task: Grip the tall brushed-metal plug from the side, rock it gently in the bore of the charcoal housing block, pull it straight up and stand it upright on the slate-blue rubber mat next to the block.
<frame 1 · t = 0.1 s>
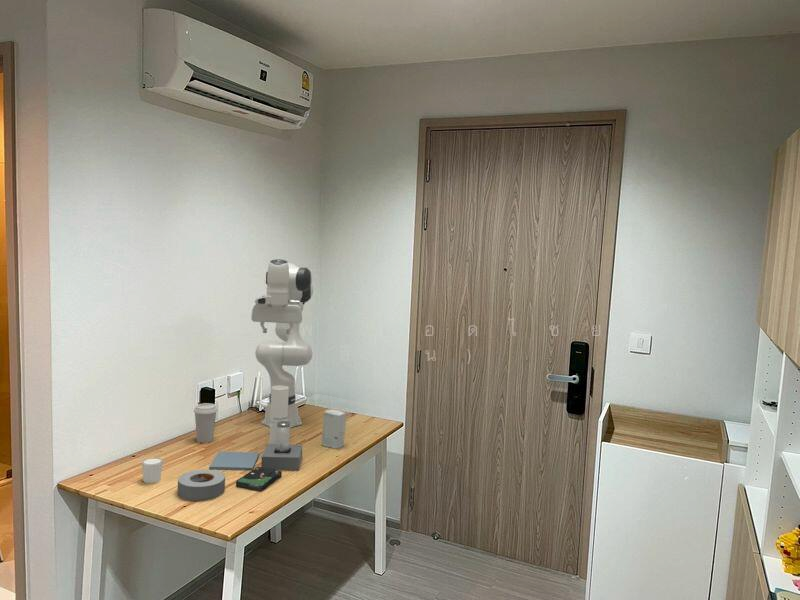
hand: (276, 333, 244), 48 cm above the table, tool pointing down, fingers open, 8 cm apart
light grey cylinder: (152, 480, 210), on the table
disk drive: (259, 483, 214), on the table
cylindrical container: (278, 446, 251), on the table
tape roll: (201, 492, 203), on the table
metal plug: (282, 443, 231), in the housing block
rubber mat: (235, 461, 231), on the table
housing block: (282, 463, 232), on the table
coffee cup: (204, 441, 252), on the table
skincare box: (333, 446, 255), on the table
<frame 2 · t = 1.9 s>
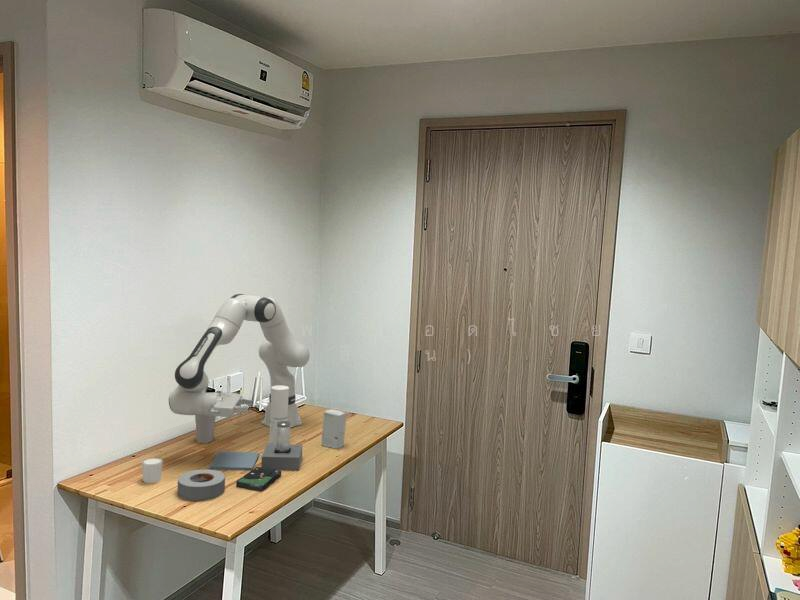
hand: (250, 405, 229), 22 cm above the table, tool horizontal, fingers open, 8 cm apart
nothing on the table moved.
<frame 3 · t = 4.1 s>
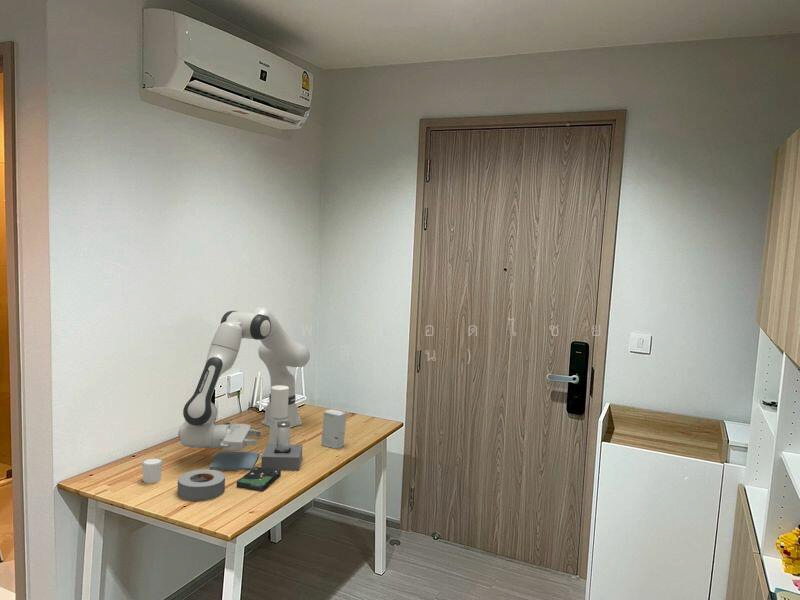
hand: (259, 437, 231), 10 cm above the table, tool horizontal, fingers open, 8 cm apart
nothing on the table moved.
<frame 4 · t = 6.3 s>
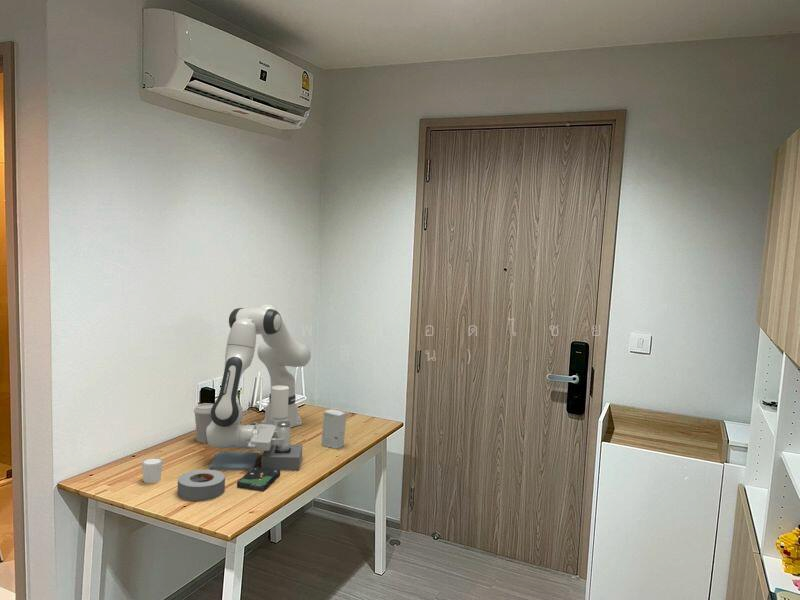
hand: (285, 438, 231), 10 cm above the table, tool horizontal, fingers closed on metal plug, 5 cm apart
metal plug: (283, 443, 231), in the housing block, touching gripper
everything else where it was.
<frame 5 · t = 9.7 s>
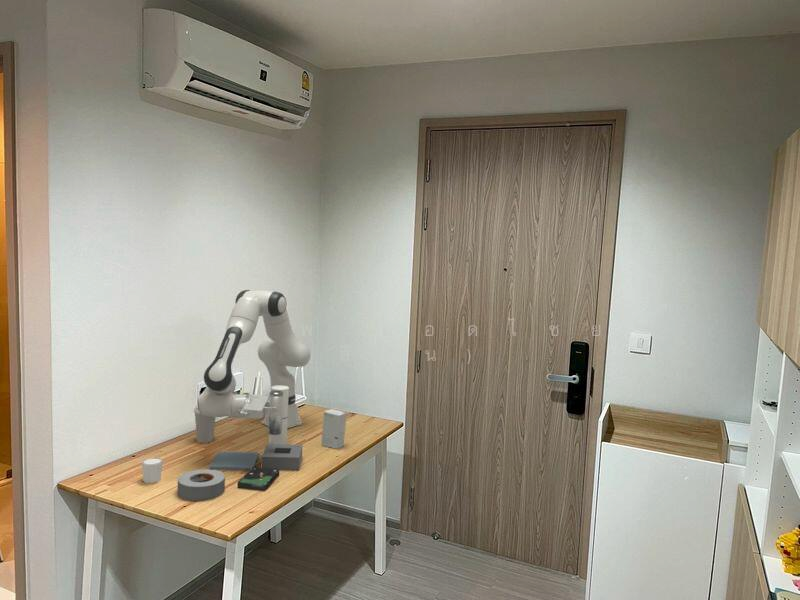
hand: (278, 407, 230), 22 cm above the table, tool horizontal, fingers closed on metal plug, 5 cm apart
metal plug: (275, 412, 230), point 20 cm above the table, touching gripper
everything else where it was.
when the fingers open (12 cm above the table, at t = 13.3 s): metal plug drops 1 cm, resting on rubber mat.
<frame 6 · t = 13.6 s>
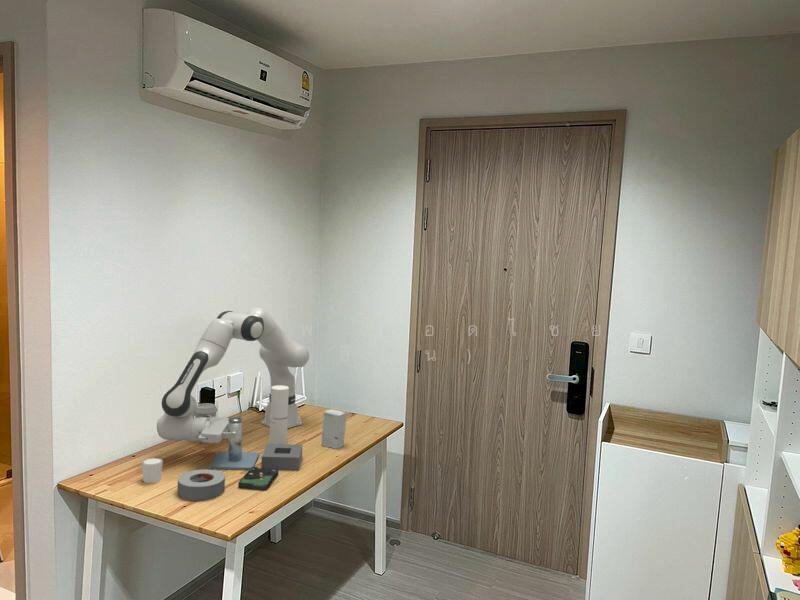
hand: (238, 430, 230), 12 cm above the table, tool horizontal, fingers open, 8 cm apart
metal plug: (235, 439, 230), on the rubber mat, point 9 cm above the table
everything else where it was.
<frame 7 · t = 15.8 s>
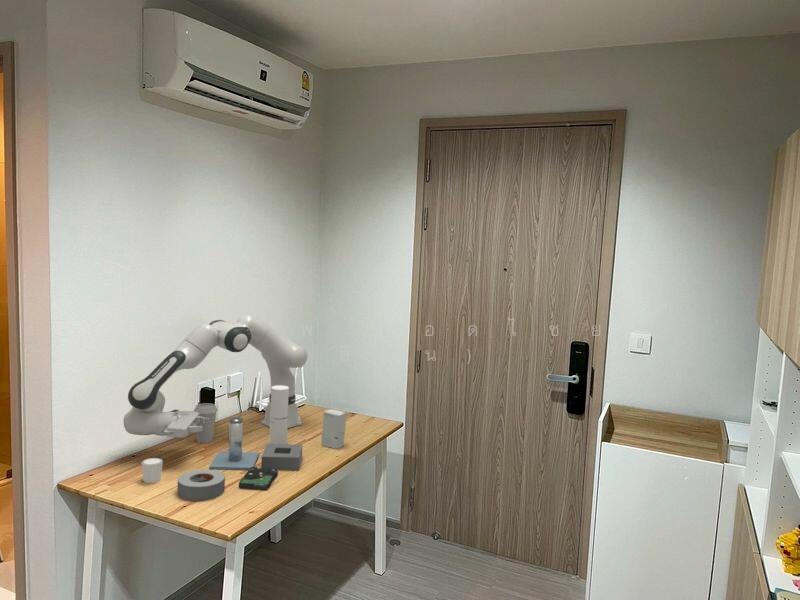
hand: (205, 424, 230), 14 cm above the table, tool horizontal, fingers open, 8 cm apart
nothing on the table moved.
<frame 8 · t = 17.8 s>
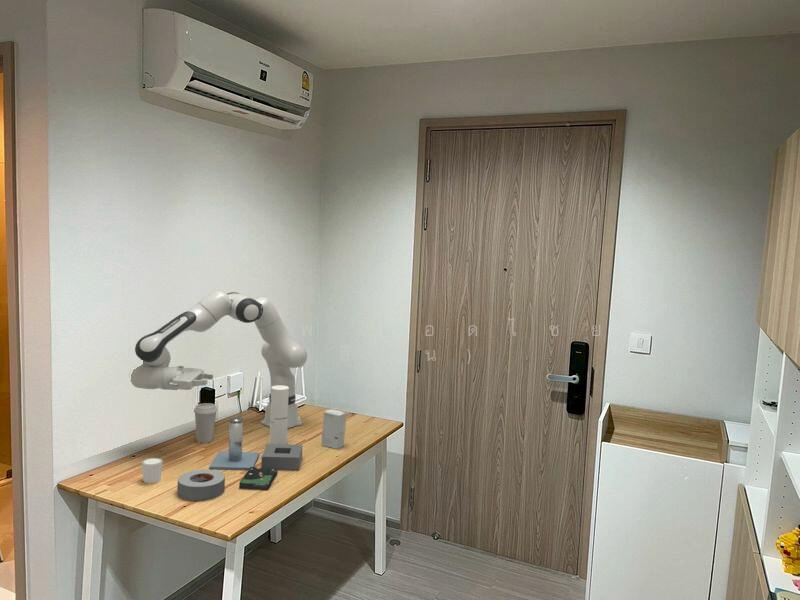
hand: (209, 379, 235), 30 cm above the table, tool horizontal, fingers open, 8 cm apart
at the end: metal plug inside the target area on the rubber mat (0.0 cm from its centre), point 9.0 cm above the rubber mat's base; metal plug tilted 0°; the gripper is holding nothing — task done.
